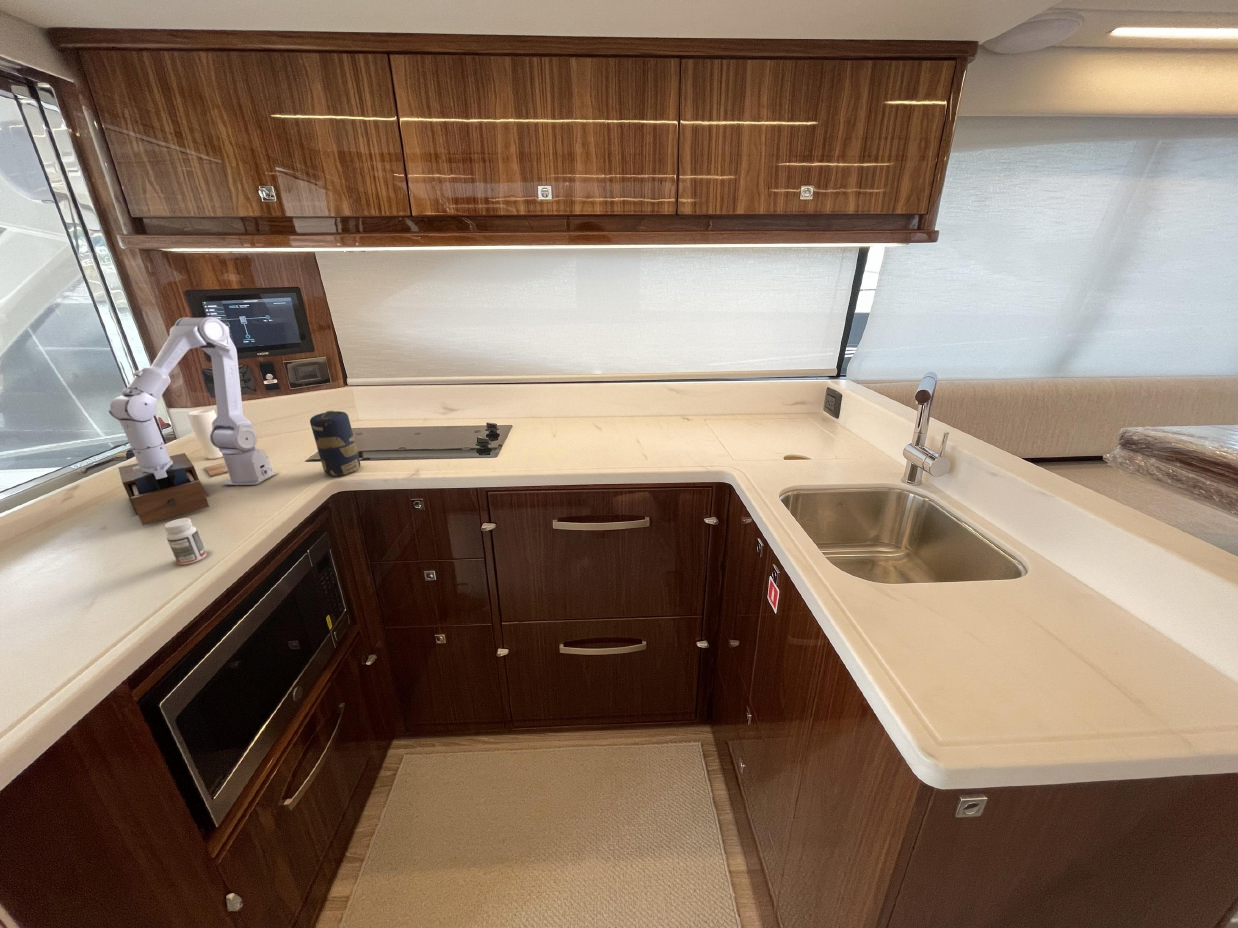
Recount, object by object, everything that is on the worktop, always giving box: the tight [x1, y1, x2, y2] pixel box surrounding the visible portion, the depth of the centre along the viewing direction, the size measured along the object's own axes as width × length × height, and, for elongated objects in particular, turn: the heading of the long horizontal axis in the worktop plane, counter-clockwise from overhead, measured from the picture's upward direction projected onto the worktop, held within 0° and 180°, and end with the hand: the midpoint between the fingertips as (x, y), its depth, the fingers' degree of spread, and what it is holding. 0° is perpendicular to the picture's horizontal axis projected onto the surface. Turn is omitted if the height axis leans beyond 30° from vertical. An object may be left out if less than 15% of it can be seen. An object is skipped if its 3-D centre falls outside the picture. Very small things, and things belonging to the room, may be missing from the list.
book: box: [133, 465, 189, 494], centre depth 121 cm, size 3×9×8 cm, turn 136°
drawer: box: [131, 470, 210, 526], centre depth 122 cm, size 16×12×7 cm
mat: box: [204, 462, 229, 477], centre depth 151 cm, size 10×10×1 cm
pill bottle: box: [163, 517, 207, 566], centre depth 100 cm, size 5×5×8 cm
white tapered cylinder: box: [187, 408, 223, 460], centre depth 158 cm, size 7×7×15 cm
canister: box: [309, 410, 361, 477], centre depth 140 cm, size 10×10×18 cm
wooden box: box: [118, 452, 200, 515], centre depth 130 cm, size 16×14×9 cm
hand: (169, 498), depth 122 cm, fingers closed on book, 3 cm apart
